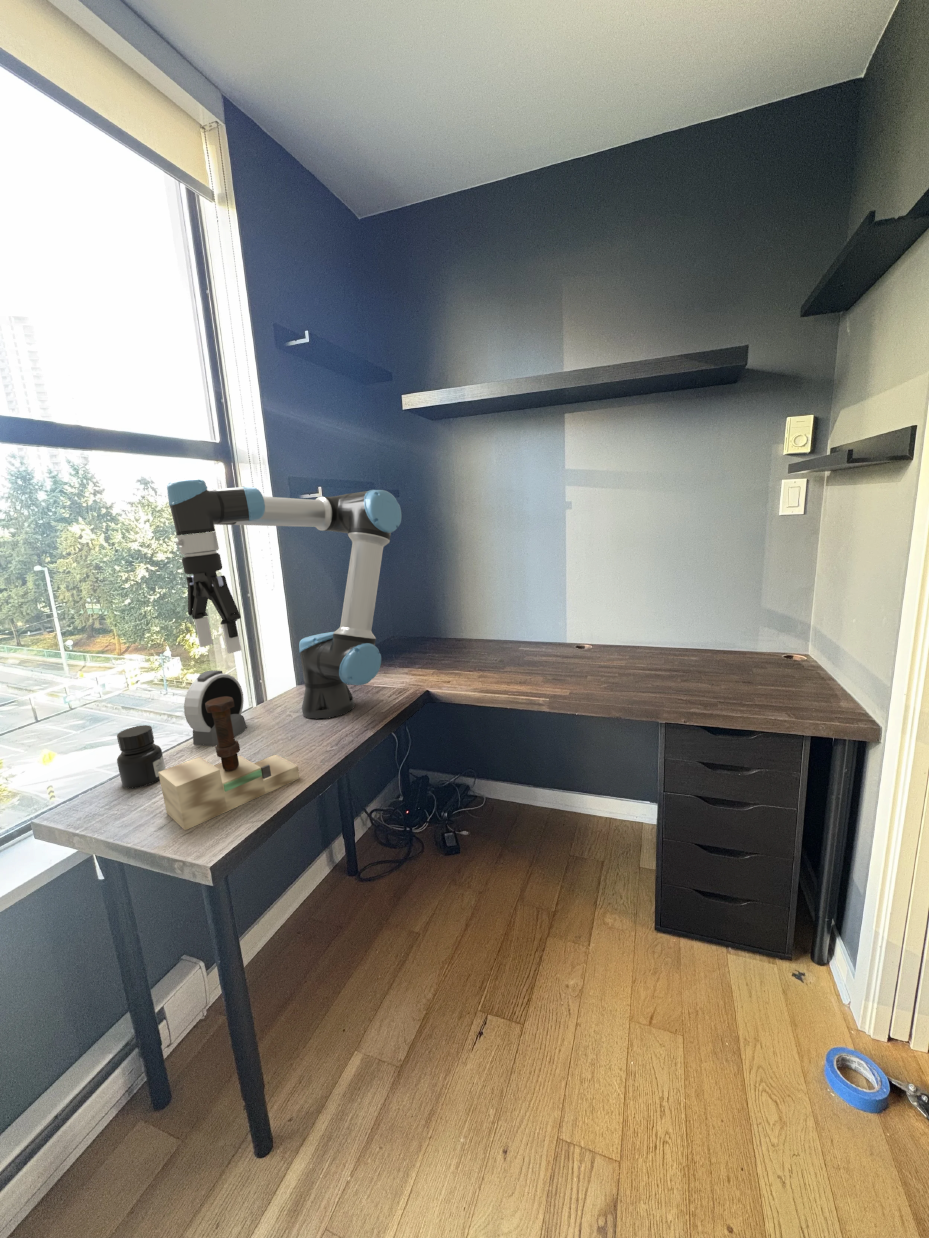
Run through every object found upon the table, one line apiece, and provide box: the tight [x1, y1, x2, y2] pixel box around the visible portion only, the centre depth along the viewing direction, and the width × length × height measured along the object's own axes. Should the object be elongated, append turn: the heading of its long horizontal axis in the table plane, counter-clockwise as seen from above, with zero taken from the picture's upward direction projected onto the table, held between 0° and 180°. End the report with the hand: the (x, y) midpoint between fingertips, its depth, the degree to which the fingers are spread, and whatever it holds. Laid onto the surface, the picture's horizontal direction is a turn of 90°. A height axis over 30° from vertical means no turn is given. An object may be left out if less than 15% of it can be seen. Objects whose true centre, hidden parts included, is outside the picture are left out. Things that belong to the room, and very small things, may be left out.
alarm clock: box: [183, 670, 248, 747], centre depth 144 cm, size 16×10×18 cm, turn 161°
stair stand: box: [158, 754, 301, 831], centre depth 111 cm, size 24×11×9 cm, turn 137°
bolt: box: [205, 696, 241, 772], centre depth 109 cm, size 6×5×15 cm
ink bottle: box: [116, 724, 166, 789], centre depth 121 cm, size 10×9×12 cm
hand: (220, 648), depth 119 cm, fingers open, 13 cm apart
